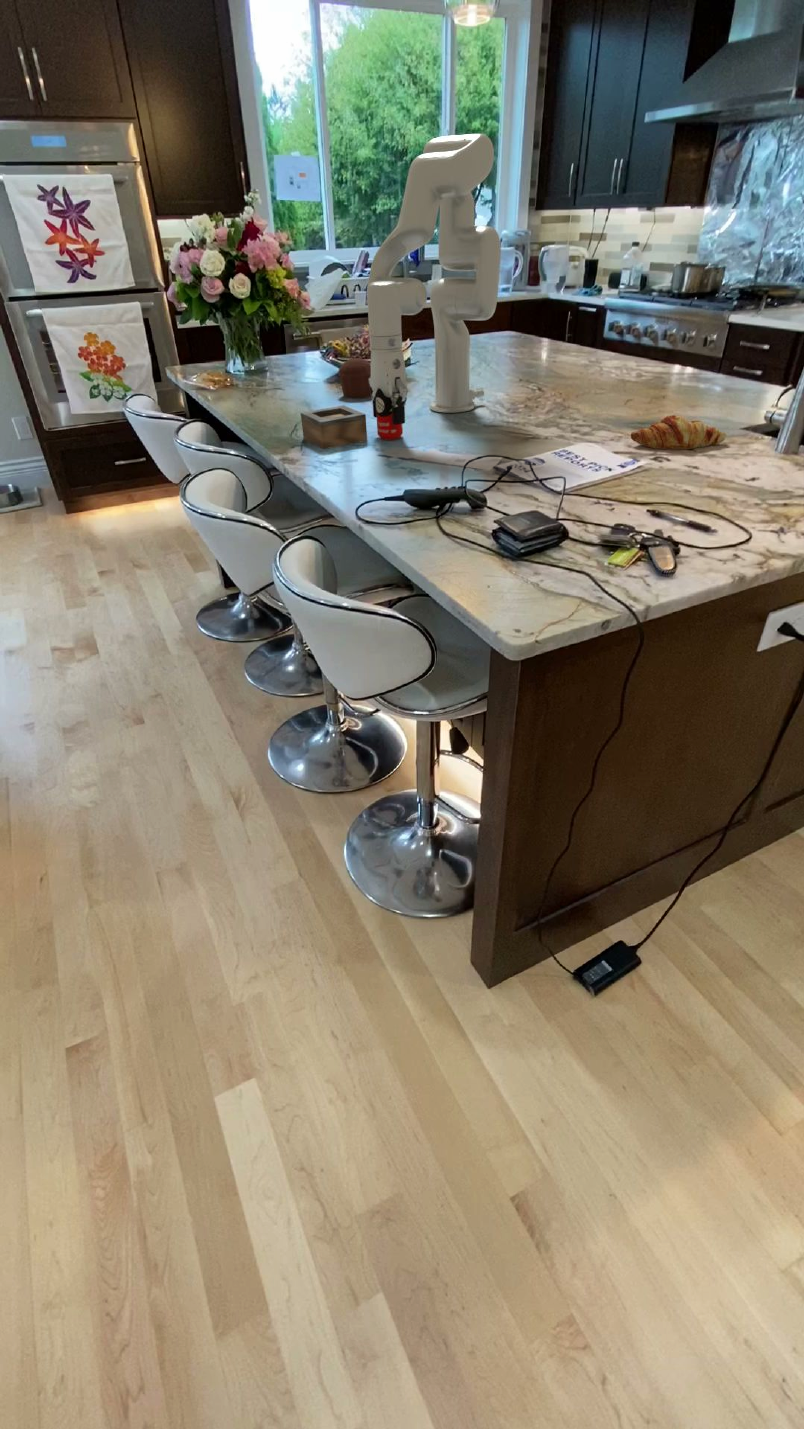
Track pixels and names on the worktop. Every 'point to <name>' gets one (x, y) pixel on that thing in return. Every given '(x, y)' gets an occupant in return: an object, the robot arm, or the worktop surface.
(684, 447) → the croissant
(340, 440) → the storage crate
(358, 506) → the worktop surface
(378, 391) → the beverage can
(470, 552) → the worktop surface
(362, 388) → the muffin
